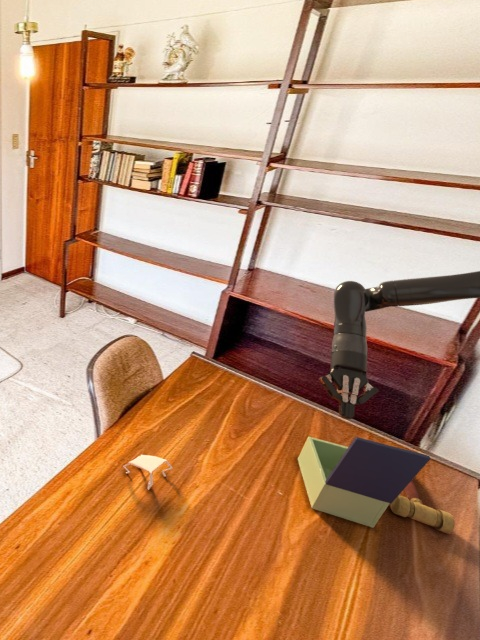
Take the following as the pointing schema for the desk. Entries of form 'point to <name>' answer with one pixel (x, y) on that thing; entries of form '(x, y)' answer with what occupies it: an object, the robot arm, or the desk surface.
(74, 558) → the desk surface
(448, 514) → the gavel
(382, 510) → the box
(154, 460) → the miniature stool
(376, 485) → the lid
